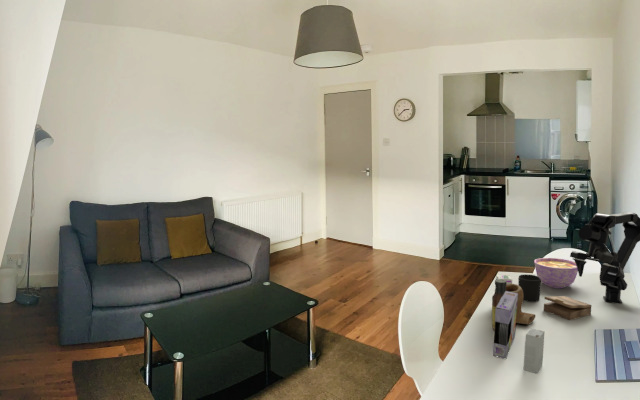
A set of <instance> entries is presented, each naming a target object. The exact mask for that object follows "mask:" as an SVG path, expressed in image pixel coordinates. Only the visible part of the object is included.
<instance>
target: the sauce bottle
mask: <svg viewBox="0 0 640 400" xmlns="http://www.w3.org/2000/svg"><path fill="white" fill-rule="evenodd" d="M494 285H495V286H494V287H495V288H494V294H493V295H492V297H491V300H492V301H491V302H492V303H491V322H492V323H491V326H492V327H491V328H492V330H493V332H494V329H495V310H496V306H497V305H498V303H499V301H500V299H501V297H502V296H503V295H504V293H505V291H506V285H507V283H506V281H505V280H501V279H498V280H496V279H495V280H494Z"/></svg>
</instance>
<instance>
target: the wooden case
mask: <svg viewBox="0 0 640 400" xmlns="http://www.w3.org/2000/svg"><path fill="white" fill-rule="evenodd" d="M543 311H544V312H547V313H550V314H552V315H555V316H558V317H560V318H562V319H566V320H569V321H572V320H575V319H580V318H584V317H587V316H591V315H592V306H591V307H589V308H569V307H566V306H563V305H560V304H558V303H555V302H552V301H548V302H545V303H543Z"/></svg>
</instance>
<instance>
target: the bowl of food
mask: <svg viewBox="0 0 640 400" xmlns="http://www.w3.org/2000/svg"><path fill="white" fill-rule="evenodd" d="M533 262H534V268H535V272H536V276H538V277H539V278H540V279H541V283H543V284H544V285H545V286H547V287H550V288H553V289H564V288H565V287H569V286H571V285H573V283H575V280H576V278H577V276H578V269H577V266H576V263H575V261H574V260H573V261H572V260H569V259H565V258H559V257H558V258H556V257H542V258H540V257H539V258H536V259H534V260H533Z"/></svg>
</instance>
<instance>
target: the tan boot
mask: <svg viewBox="0 0 640 400" xmlns="http://www.w3.org/2000/svg"><path fill="white" fill-rule="evenodd" d="M506 291H508V292H513V293H518V299H517V312H516V324H519V325H520V324H521V325H531V324H532V323H533V322H534V320H535V319H536V314H535V313H528V312H523V311H522V306H523V302H524V300H523V290H522V288H521V287H520V286H519V285H518V284H516V283H512V284H507V285H506Z"/></svg>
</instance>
